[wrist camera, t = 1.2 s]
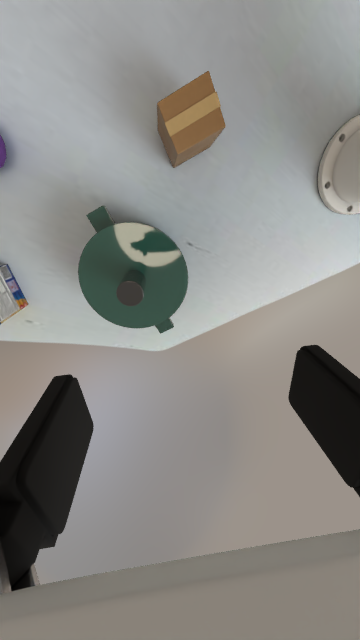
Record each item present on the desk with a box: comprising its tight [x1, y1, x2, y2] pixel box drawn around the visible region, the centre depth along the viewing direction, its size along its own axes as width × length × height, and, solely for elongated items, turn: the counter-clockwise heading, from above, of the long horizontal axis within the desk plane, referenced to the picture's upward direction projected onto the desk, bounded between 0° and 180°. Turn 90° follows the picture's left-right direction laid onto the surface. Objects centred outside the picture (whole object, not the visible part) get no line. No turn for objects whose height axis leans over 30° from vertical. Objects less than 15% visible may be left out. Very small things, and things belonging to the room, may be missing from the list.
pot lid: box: [78, 222, 188, 328], centre depth 27 cm, size 14×14×6 cm
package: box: [157, 71, 225, 168], centre depth 26 cm, size 6×5×8 cm
